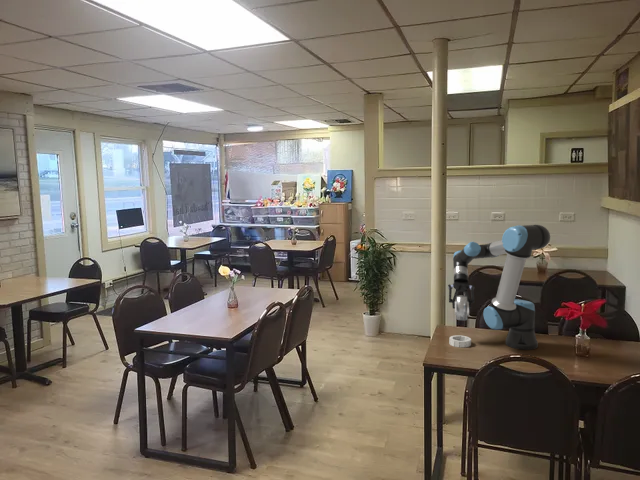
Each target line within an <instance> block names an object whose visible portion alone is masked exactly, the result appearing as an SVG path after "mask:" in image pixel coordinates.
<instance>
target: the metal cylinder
mask: <svg viewBox="0 0 640 480" xmlns="http://www.w3.org/2000/svg"><path fill="white" fill-rule="evenodd" d="M467 302H468V301H467V296H465V294H464V295H462V294H461V295H460V294H459V295H457V296H456V310H457V314H456V315H455V317H456V318H455V319H456V320H458V321H467V320H468V315H467Z"/></svg>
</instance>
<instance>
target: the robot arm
mask: <svg viewBox="0 0 640 480" xmlns="http://www.w3.org/2000/svg"><path fill="white" fill-rule="evenodd" d="M550 240H551V234H550V231H549V229H547V228H546V227H545V226H544V225H540V224H528V225H525V224H524V225H520V224H517V225H515V226H510V227H508V228H507V229H505V231H504V233H503V234H502V237H501V240H496V241H493V242H489V243H485V244H484V243H483V244H479V243H477V242H475V241H470V242H468V243H467V244H466V245H464V247H463V248H462V249H461V250H457V251H455V252H454V253H453V256H452V261H453V283H452V284H450V283H449V284H448V287H447V288H448V303H452V309H454V315H455V316H456V314H457V310H456V296H458V294H459V293H464V296H467V316H470V310H471V309H472V304H475V291H474V290H475V285H474V284H472V285H471V284H470V283H469V267H468V266H469V264H470V263H471V262H472V261H473V260H477V259H486V258H487V259H488V258H496V257H499V256H502V255H506V257H505V261H504V265H503V269H502V272H501V277H500V279H499V284H498V287H497V293H496V295H495V297H493V298H492V299H491V301H490V306H489V305H488V306H487V307H485V308H484V309H483V314H482V315H483V320H484V321H485V323H486V324H485V325H487V327H488V328H490V329H492V330H503V329H509V330H508V333H507V335H506V338H505V345H506V346H507V347H510V348H512V349H517V350H525V351H527V350H530V351H531V350H535V349H537V348H538V347H539V346H538V345H539V343H538V340H537V337H536V336H537V335H536V332H535V317H536V308H535V304H534V303H533V302H532V301H528V300H525V299H517V298H516V297H517V293H518V290H519V286H520V284H521V283H520V282H521V279H522V276H523V272H524V267H525V264H526V260H527V259H530V258H531V257H532V256H531V255H532V253H533V251H535V250H540V249H541V250H542V249H543V248H546V247H547V246H548V245H549V244H550ZM453 289H454V290H455V292H454V295H453V296H452V290H453ZM468 289H469V290H470V295H469V292H468ZM470 296H471V297H470Z"/></svg>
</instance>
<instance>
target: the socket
mask: <svg viewBox="0 0 640 480" xmlns="http://www.w3.org/2000/svg"><path fill="white" fill-rule="evenodd" d="M449 345H450V346H452V347H455V348H469V347H471V346H472V338H471V337H469V336H468V335H467V336H465V335H458V334H457V335H451V336H449Z"/></svg>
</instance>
